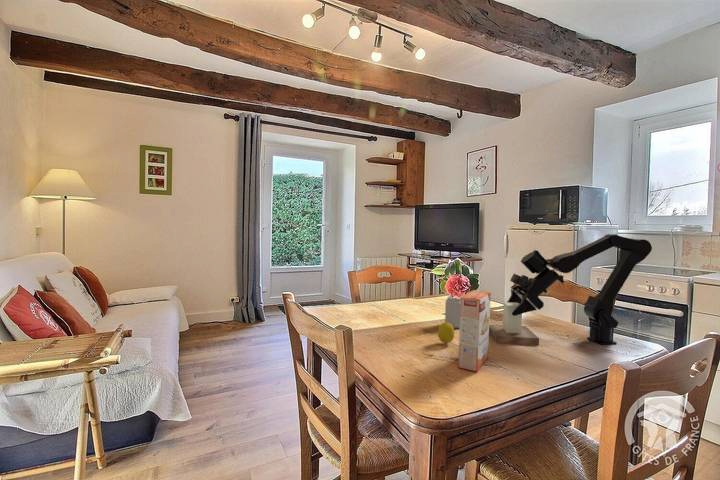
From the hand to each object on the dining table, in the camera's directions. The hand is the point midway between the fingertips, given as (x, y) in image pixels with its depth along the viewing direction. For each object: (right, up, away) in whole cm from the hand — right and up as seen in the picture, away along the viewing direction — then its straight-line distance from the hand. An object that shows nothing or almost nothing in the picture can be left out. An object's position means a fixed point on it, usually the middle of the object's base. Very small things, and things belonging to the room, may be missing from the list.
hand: (508, 311), depth 129 cm
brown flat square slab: (+1, -10, 0) cm, 10 cm away
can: (-16, -9, +13) cm, 23 cm away
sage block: (+1, -7, 0) cm, 7 cm away
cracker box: (-20, -11, -23) cm, 33 cm away
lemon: (-25, -10, -8) cm, 28 cm away
